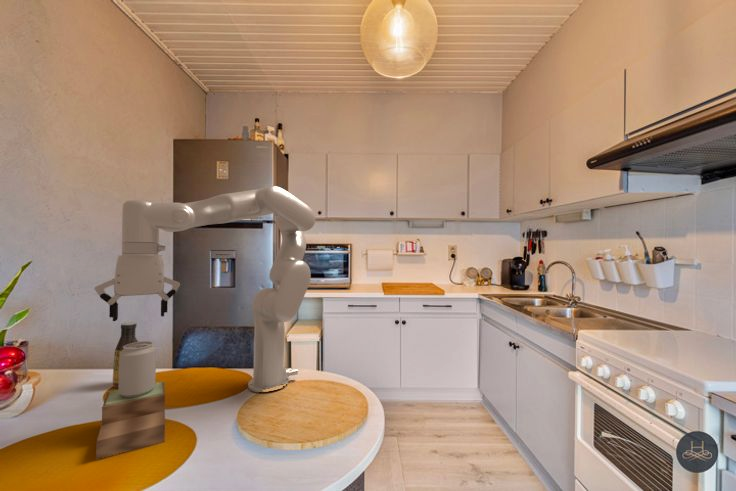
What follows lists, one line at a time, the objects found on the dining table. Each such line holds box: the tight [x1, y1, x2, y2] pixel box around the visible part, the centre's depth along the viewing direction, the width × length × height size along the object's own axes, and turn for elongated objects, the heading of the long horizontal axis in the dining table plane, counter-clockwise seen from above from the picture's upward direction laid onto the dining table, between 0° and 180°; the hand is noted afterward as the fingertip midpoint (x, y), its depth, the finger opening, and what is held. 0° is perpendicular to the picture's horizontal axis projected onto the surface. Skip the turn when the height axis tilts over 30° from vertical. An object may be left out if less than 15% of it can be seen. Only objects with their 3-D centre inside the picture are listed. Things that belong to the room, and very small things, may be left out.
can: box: [117, 340, 157, 397], centre depth 79 cm, size 8×8×12 cm
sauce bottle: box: [112, 321, 139, 389], centre depth 101 cm, size 7×6×20 cm
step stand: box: [95, 381, 166, 460], centre depth 75 cm, size 12×16×8 cm
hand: (139, 317), depth 79 cm, fingers open, 9 cm apart
